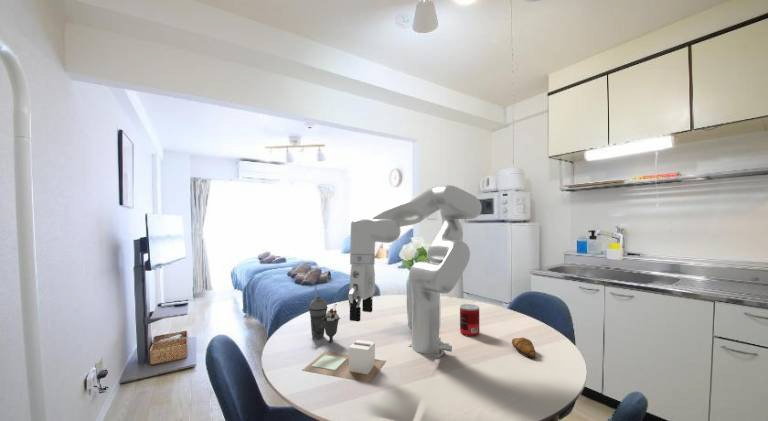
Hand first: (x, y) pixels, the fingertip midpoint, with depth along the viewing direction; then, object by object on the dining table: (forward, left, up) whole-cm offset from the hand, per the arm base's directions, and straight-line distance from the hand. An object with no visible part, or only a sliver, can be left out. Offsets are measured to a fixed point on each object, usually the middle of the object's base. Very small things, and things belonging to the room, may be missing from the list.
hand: (361, 316), depth 92 cm
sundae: (+18, -15, -17) cm, 29 cm away
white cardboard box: (0, 0, -16) cm, 16 cm away
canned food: (-30, -45, -17) cm, 57 cm away
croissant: (-49, -33, -18) cm, 61 cm away
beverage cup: (+27, -21, -17) cm, 39 cm away
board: (+5, 0, -17) cm, 18 cm away
